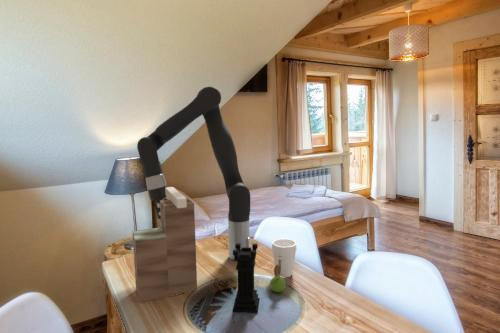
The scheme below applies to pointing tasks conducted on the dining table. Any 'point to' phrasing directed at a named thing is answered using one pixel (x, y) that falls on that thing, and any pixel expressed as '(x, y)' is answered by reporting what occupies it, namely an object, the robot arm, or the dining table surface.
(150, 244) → the stepped stand
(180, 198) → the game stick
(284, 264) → the foam cup
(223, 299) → the dining table surface
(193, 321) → the dining table surface
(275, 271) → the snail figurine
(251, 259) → the chess piece
